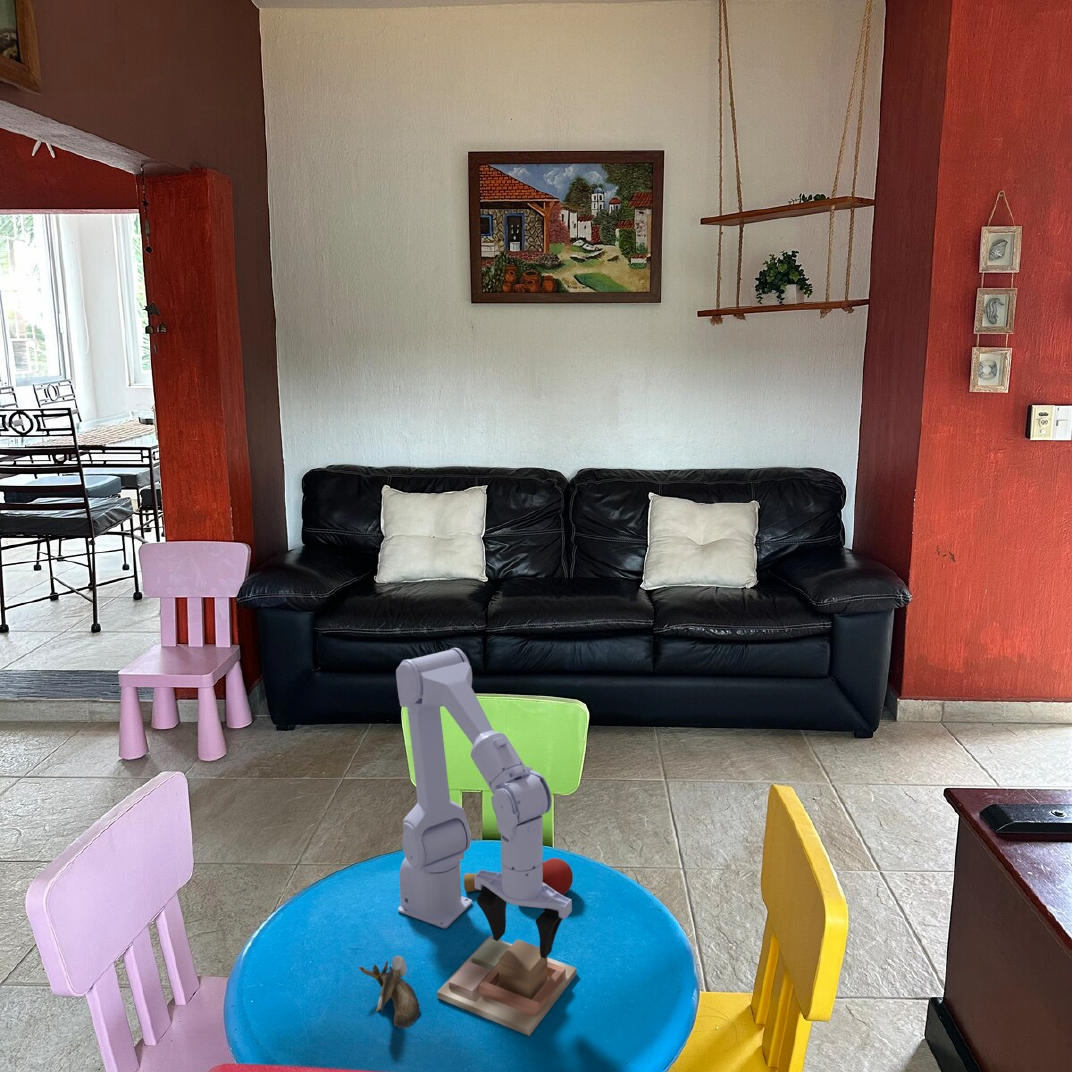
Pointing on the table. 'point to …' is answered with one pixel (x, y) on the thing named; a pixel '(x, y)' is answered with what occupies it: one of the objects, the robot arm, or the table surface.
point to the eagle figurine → (396, 992)
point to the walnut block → (522, 969)
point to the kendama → (554, 876)
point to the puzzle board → (484, 997)
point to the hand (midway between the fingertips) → (522, 945)
